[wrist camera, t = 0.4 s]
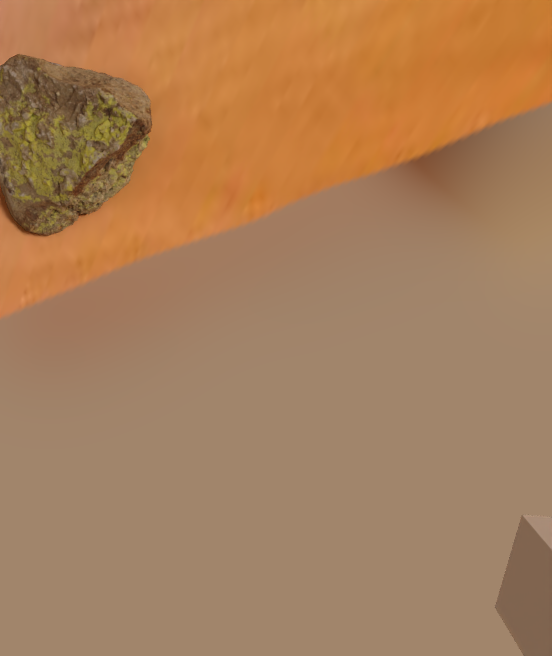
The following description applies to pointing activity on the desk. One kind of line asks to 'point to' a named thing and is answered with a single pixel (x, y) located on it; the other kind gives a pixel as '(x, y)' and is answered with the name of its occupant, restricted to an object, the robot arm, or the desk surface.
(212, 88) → the desk surface
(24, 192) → the rock
